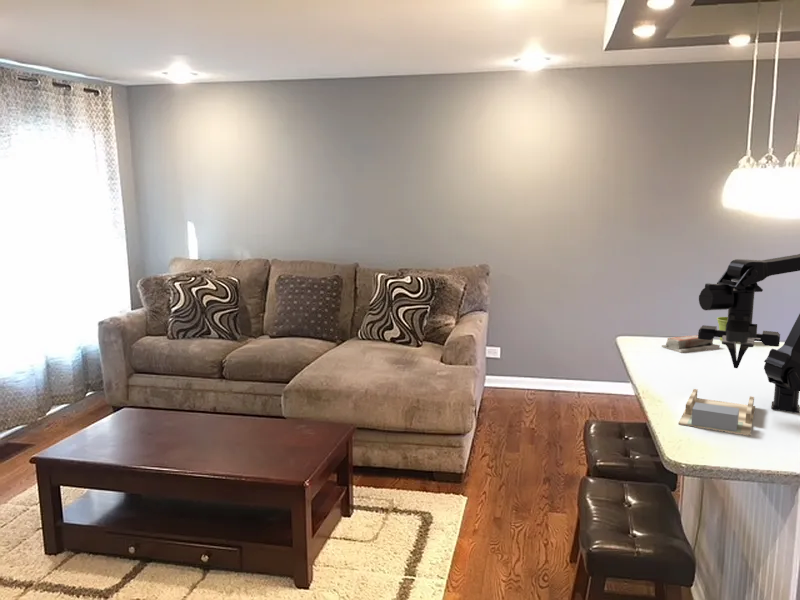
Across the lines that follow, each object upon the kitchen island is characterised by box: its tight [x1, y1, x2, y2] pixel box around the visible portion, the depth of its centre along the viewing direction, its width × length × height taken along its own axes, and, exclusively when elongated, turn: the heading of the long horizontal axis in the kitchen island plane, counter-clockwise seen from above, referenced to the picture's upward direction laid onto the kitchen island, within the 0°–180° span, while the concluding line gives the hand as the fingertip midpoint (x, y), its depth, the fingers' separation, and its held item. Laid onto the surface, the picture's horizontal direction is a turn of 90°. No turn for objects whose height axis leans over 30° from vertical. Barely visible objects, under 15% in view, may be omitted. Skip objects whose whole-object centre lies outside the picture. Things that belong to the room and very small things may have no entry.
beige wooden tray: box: [678, 388, 756, 437], centre depth 177 cm, size 24×16×3 cm, turn 150°
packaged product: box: [661, 334, 720, 354], centre depth 250 cm, size 18×5×10 cm
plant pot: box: [716, 316, 728, 342], centre depth 260 cm, size 9×9×9 cm
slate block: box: [691, 402, 739, 431], centre depth 169 cm, size 6×10×4 cm, turn 60°
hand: (735, 367), depth 178 cm, fingers closed
